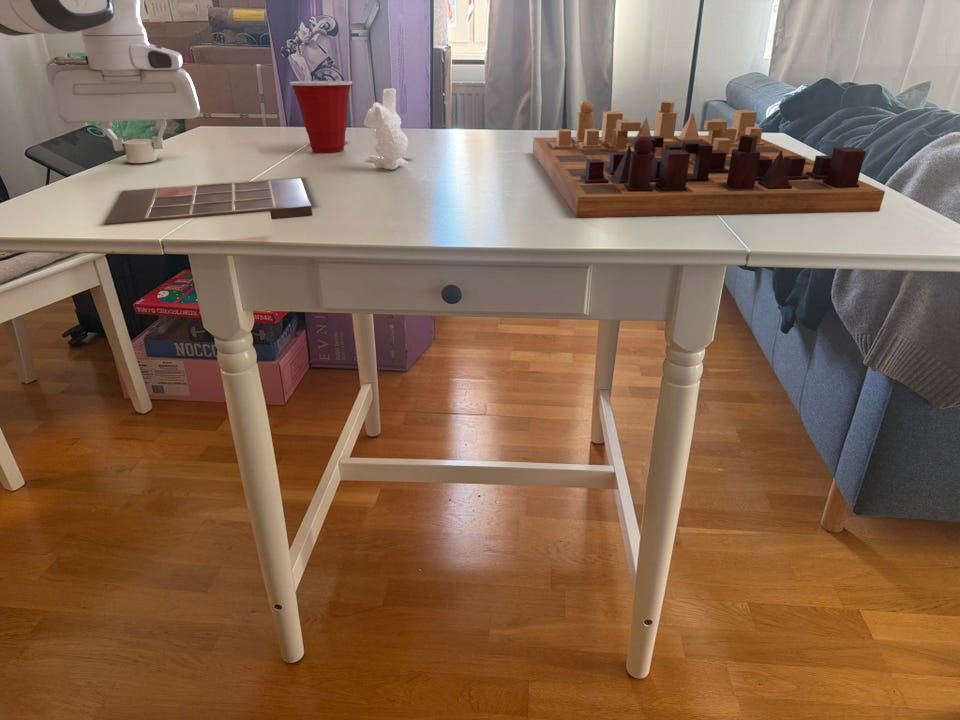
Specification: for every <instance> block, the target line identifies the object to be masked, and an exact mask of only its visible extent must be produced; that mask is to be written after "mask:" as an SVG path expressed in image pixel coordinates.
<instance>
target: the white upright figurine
mask: <svg viewBox="0 0 960 720" xmlns="http://www.w3.org/2000/svg"><path fill="white" fill-rule="evenodd" d="M396 95H397V89H396V88H395V87H393V88H391V87H390V88H384V89H383V91H382V97H381V98H382V99H381V100H382V103H380V102H378V101H377V102H376V101H375V102H373V104H372V106H371V108H369V109H368V110H367V111H366V114H365V118H364V120H363V122H362V123H363V125H364V126H365V127H367V129H375V130H374V133H373V135H374V138H375V139H376V140H378V141H377V144H376V145H375V148H374V149H375V152H376V154H377V155H379V156H377V155H375V154H370V155H369V156H368V160H370V162H371V163H373V164H374V166H375V168H378V169H384V170H391V171H393V170H396V169H398V168H399V167H402V166H407V165H408V164H409V162H408V161H407V160H405V159H403V158H404V157H405V155H406V153H407V150H408V147H409V146H408V145H409V138H408V136H407V135H406V134H405V133H404V132H403V129H402V127H401V125H402V119H401V117H400V115H399V114H398V113H397V97H396Z"/></svg>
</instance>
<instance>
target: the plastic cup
mask: <svg viewBox="0 0 960 720" xmlns="http://www.w3.org/2000/svg"><path fill="white" fill-rule="evenodd" d="M289 84H290V86H291V87H292V88H293V91H294V94H295V97H296V100H297V102H298V106H299V109H300V113H301V116H302V120H303V124H304V128H305V132H306V134H307V136H308V140H309V145H310V147H311V150H312V152H314V153H320V154H321V153H322V154H323V153H324V154H326V153H328V154H329V153H337V152H342V151H343V150H345V144H346V131H347V120H348V118H347V117H348V104H349V103H348V101H349V97H350V96H349V95H350V89H351V85H352V84H353V81H352V80H308V81H307V80H305V81H303V80H302V81H289Z"/></svg>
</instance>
